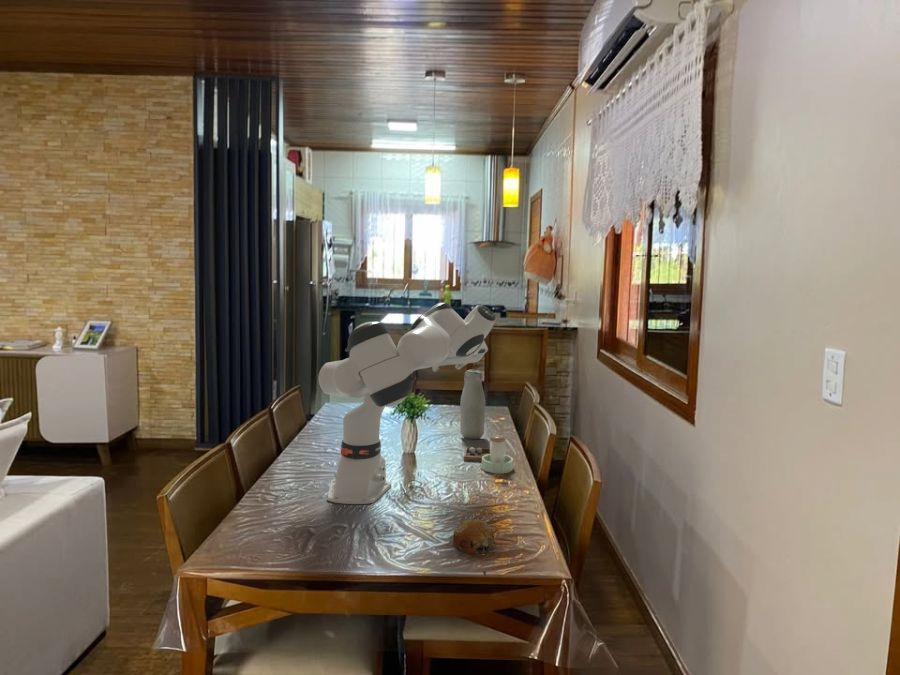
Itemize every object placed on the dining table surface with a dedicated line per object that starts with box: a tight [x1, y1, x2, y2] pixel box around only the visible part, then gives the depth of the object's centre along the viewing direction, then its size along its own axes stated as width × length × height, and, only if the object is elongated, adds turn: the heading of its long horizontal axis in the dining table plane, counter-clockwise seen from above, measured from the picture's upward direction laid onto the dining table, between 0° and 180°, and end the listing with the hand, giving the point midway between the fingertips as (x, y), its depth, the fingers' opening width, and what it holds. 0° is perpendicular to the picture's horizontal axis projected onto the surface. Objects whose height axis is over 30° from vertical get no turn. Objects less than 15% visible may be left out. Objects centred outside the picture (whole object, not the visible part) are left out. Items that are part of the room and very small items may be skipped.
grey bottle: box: [459, 369, 486, 440], centre depth 241 cm, size 10×10×28 cm
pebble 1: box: [469, 446, 476, 454], centre depth 220 cm, size 2×2×2 cm
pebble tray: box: [463, 447, 490, 463], centre depth 217 cm, size 11×10×2 cm
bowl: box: [481, 454, 514, 474], centre depth 205 cm, size 10×10×4 cm
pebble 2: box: [476, 447, 482, 454], centre depth 220 cm, size 2×2×2 cm
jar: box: [489, 434, 507, 463], centre depth 205 cm, size 5×5×11 cm
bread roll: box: [452, 518, 495, 555], centre depth 150 cm, size 10×10×8 cm
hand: (446, 369), depth 207 cm, fingers open, 8 cm apart
